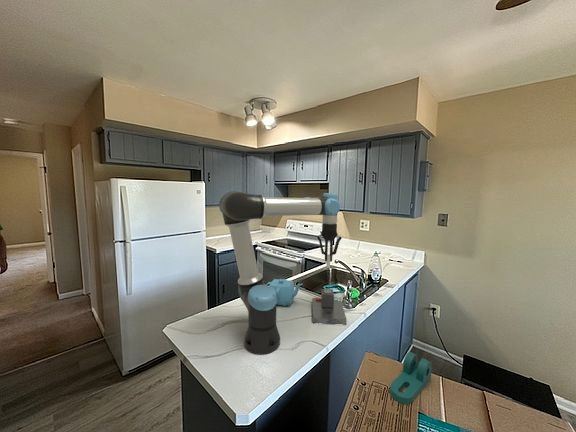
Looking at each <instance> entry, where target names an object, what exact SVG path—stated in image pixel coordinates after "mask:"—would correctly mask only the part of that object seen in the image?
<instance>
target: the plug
mask: <svg viewBox="0 0 576 432" xmlns="http://www.w3.org/2000/svg"><path fill="white" fill-rule="evenodd" d="M320 298H321V303H322V307H328V308H334V299H335V294H334V289H329V288H321V296H320Z"/></svg>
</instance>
